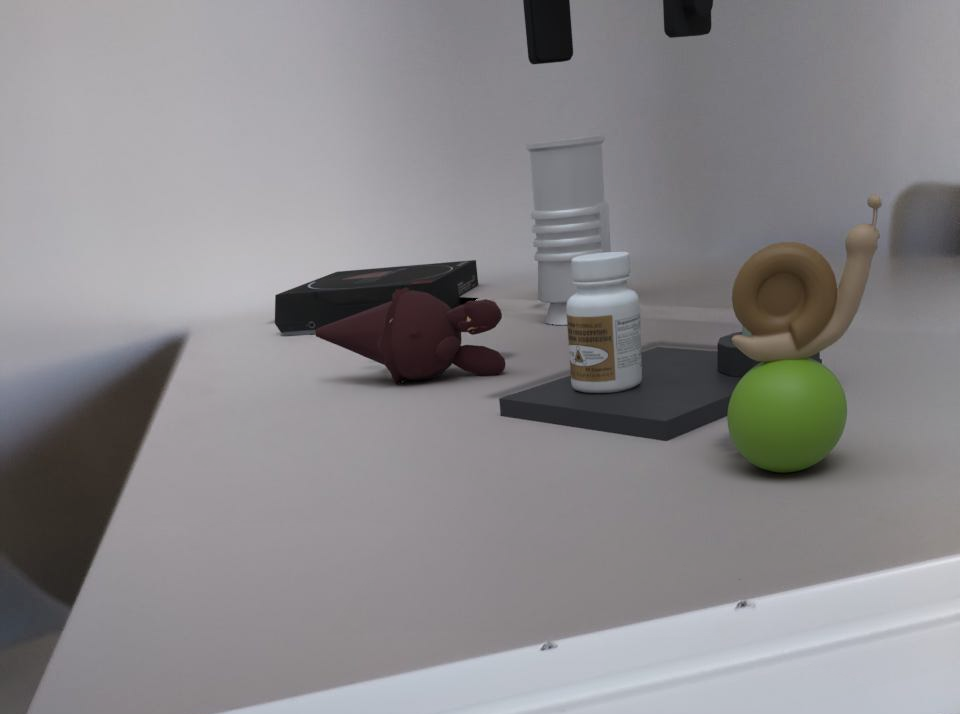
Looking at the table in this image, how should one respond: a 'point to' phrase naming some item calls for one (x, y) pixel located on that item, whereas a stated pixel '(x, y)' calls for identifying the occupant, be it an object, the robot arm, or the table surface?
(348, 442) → the table surface
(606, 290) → the pill bottle
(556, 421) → the scale
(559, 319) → the silver ribbed cylinder
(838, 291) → the snail figurine
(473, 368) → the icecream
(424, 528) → the table surface
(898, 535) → the table surface
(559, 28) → the robot arm
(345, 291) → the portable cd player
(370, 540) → the table surface
